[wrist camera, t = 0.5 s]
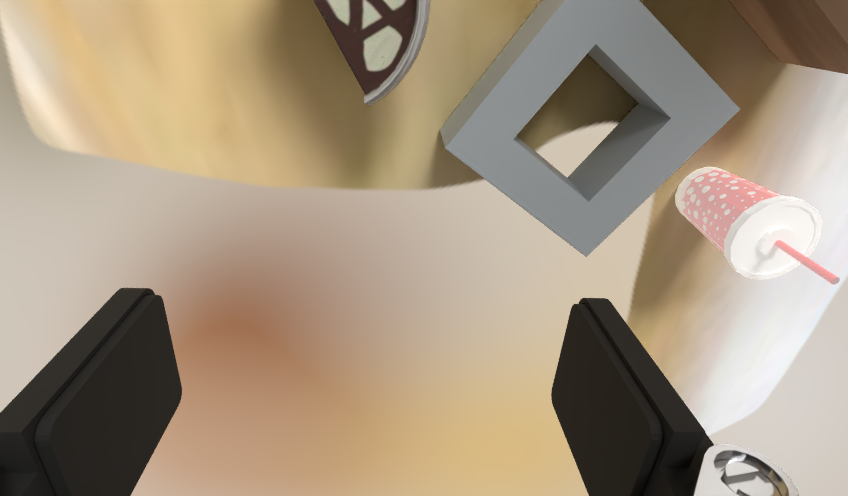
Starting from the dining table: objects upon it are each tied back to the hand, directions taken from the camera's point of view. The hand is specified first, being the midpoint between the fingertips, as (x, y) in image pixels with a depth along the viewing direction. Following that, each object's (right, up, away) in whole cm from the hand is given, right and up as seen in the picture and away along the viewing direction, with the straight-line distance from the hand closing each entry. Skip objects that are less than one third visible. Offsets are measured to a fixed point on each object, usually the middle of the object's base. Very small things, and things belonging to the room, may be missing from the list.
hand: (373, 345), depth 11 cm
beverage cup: (+25, +7, +29) cm, 39 cm away
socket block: (+12, +13, +25) cm, 31 cm away
